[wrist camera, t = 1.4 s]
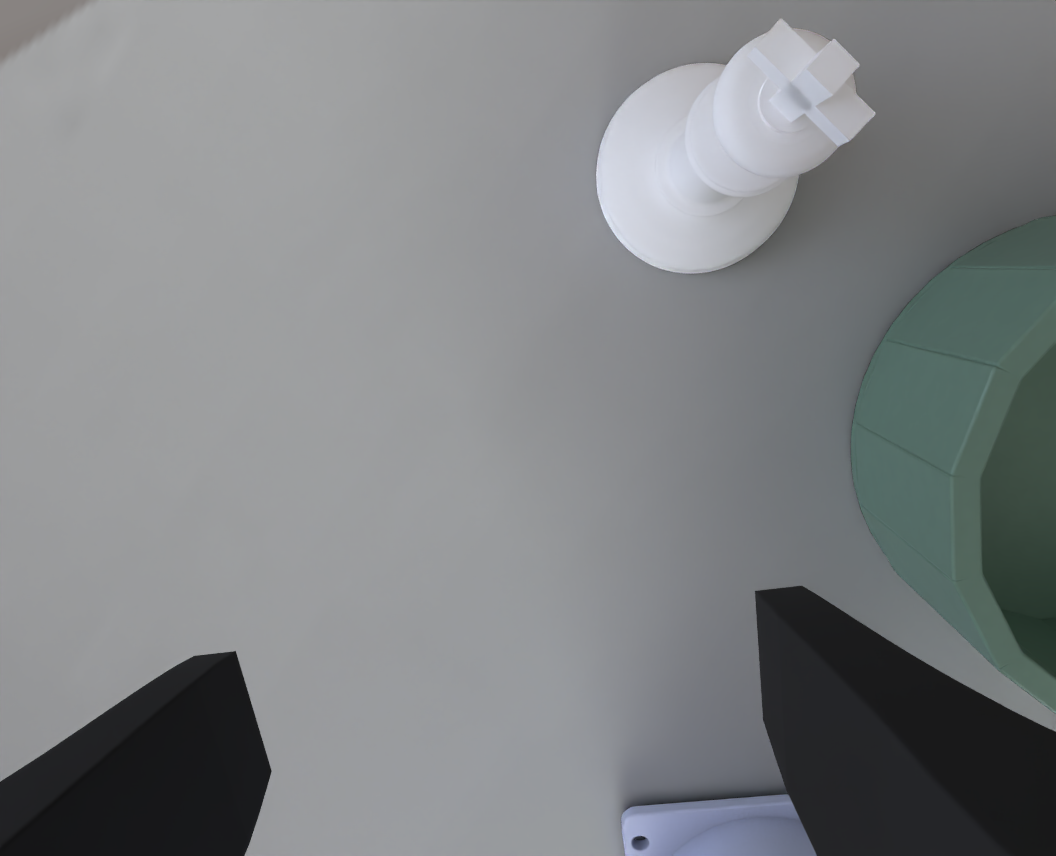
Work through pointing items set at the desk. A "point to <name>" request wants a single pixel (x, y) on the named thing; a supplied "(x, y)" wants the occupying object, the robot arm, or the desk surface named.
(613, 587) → the desk surface
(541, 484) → the desk surface
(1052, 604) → the tub
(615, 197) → the chess piece
